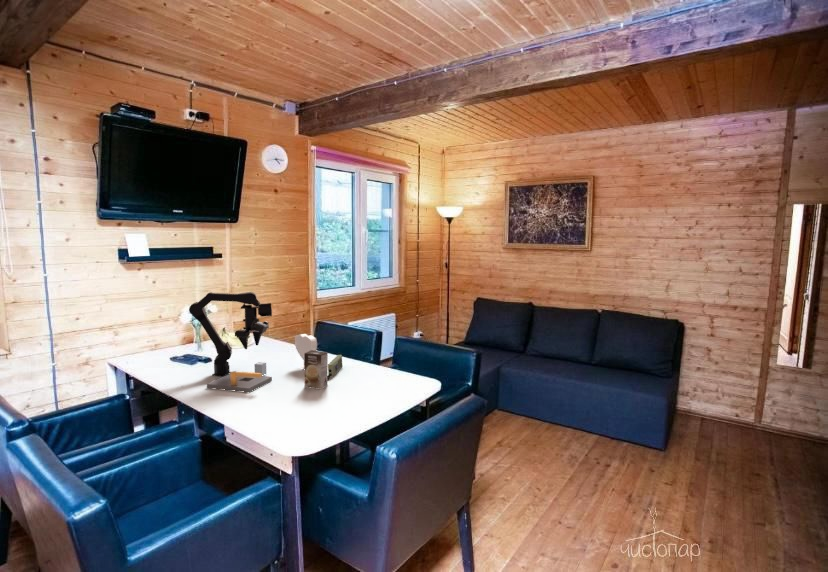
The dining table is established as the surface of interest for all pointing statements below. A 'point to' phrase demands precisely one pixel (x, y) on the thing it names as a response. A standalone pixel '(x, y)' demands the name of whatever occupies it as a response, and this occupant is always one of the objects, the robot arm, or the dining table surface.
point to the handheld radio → (334, 366)
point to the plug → (260, 368)
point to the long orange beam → (242, 374)
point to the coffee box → (316, 369)
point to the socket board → (239, 383)
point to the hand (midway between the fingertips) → (251, 347)
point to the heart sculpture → (305, 344)
